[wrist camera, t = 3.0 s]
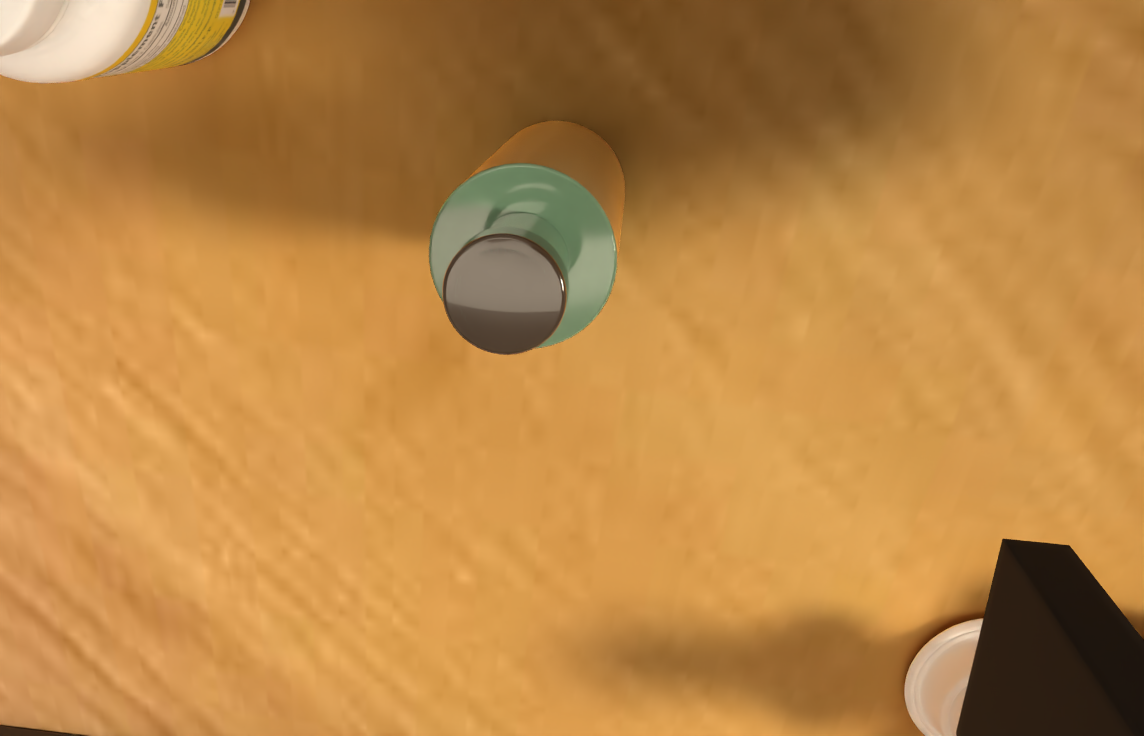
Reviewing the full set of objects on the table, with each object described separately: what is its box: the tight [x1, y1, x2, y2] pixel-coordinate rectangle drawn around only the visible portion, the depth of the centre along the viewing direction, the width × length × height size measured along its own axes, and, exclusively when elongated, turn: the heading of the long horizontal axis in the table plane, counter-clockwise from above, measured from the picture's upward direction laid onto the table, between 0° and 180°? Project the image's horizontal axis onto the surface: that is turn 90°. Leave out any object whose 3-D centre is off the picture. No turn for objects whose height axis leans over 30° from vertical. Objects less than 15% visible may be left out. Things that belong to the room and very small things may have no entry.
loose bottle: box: [429, 120, 625, 355], centre depth 25 cm, size 4×4×12 cm
